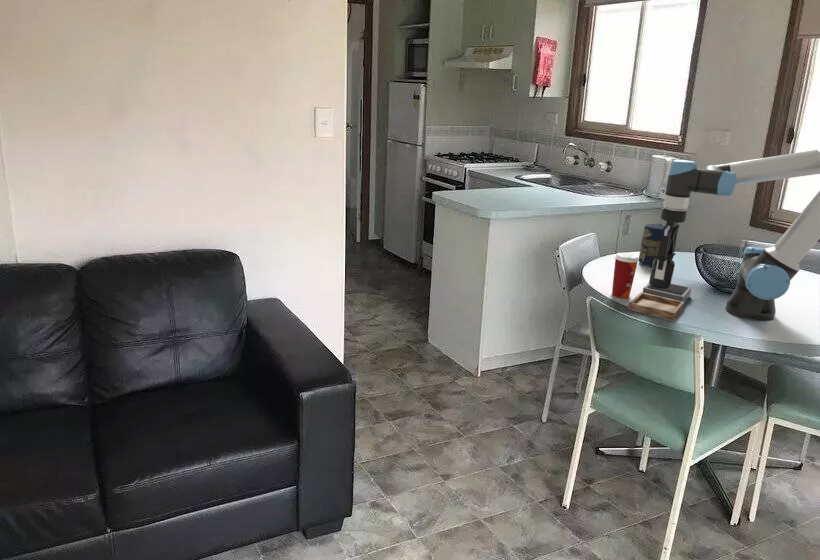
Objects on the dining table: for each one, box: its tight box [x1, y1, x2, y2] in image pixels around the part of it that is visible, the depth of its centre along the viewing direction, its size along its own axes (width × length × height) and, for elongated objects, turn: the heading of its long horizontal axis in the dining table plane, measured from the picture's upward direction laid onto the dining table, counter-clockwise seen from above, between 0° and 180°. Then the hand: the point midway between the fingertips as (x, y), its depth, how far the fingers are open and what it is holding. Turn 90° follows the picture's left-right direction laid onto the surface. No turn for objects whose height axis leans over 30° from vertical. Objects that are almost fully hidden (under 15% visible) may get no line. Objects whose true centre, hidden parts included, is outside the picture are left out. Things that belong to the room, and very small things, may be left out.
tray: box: [627, 291, 685, 321], centre depth 216 cm, size 15×15×2 cm
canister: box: [638, 223, 665, 267], centre depth 267 cm, size 10×10×18 cm
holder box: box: [642, 282, 692, 304], centre depth 229 cm, size 14×14×4 cm
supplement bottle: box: [648, 251, 676, 289], centre depth 212 cm, size 7×7×12 cm
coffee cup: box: [611, 252, 639, 299], centre depth 226 cm, size 8×8×15 cm
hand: (661, 276), depth 212 cm, fingers closed on supplement bottle, 7 cm apart
